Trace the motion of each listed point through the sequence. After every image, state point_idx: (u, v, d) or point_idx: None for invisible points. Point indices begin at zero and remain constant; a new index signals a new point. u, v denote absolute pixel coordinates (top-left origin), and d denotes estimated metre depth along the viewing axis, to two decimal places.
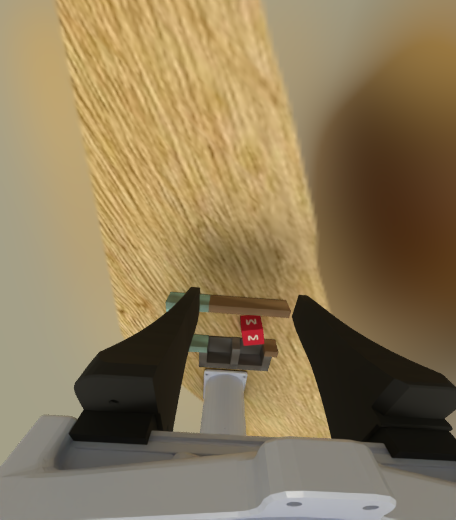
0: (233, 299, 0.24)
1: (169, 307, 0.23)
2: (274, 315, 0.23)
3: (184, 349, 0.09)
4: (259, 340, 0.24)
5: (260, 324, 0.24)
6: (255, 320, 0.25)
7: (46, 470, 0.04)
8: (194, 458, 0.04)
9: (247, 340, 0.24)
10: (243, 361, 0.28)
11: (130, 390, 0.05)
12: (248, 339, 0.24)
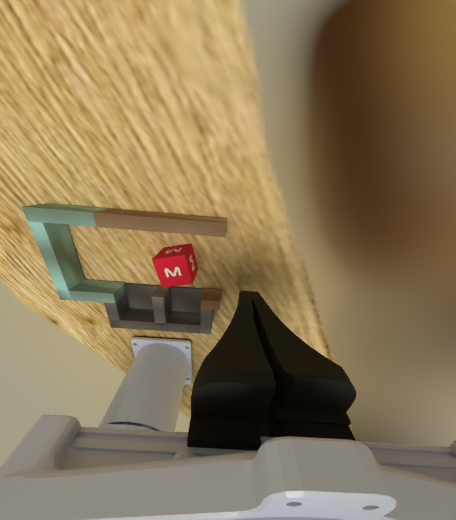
0: (141, 212, 0.16)
1: (31, 217, 0.14)
2: (201, 232, 0.15)
3: None
4: (183, 276, 0.16)
5: (184, 251, 0.16)
6: (180, 249, 0.17)
7: (46, 470, 0.04)
8: (194, 458, 0.04)
9: (165, 277, 0.16)
10: (175, 320, 0.20)
11: (248, 397, 0.05)
12: (166, 275, 0.16)
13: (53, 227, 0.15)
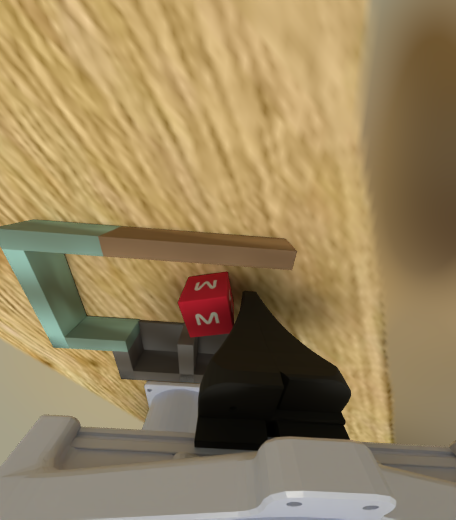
0: (167, 233, 0.11)
1: (6, 243, 0.10)
2: (258, 264, 0.10)
3: None
4: (222, 324, 0.11)
5: (223, 288, 0.11)
6: (215, 282, 0.12)
7: (47, 470, 0.04)
8: (194, 458, 0.04)
9: (195, 325, 0.11)
10: (205, 369, 0.15)
11: (255, 397, 0.05)
12: (198, 323, 0.11)
13: (40, 255, 0.11)
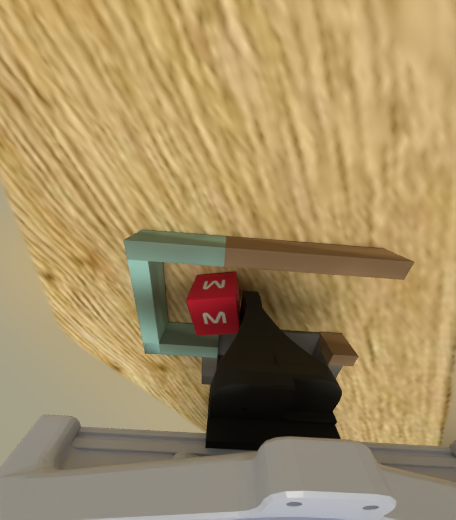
0: (276, 243, 0.11)
1: (134, 254, 0.10)
2: (372, 274, 0.10)
3: None
4: (229, 324, 0.11)
5: (232, 288, 0.11)
6: (223, 282, 0.12)
7: (47, 470, 0.04)
8: (194, 458, 0.04)
9: (202, 323, 0.11)
10: None
11: (267, 398, 0.05)
12: (205, 322, 0.11)
13: (154, 264, 0.11)
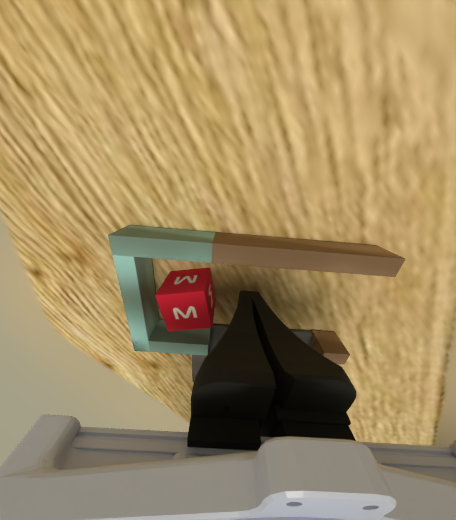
0: (266, 239, 0.11)
1: (119, 250, 0.10)
2: (363, 271, 0.10)
3: None
4: (200, 319, 0.11)
5: (202, 283, 0.11)
6: (195, 277, 0.12)
7: (46, 471, 0.04)
8: (194, 458, 0.04)
9: (173, 318, 0.11)
10: None
11: (248, 397, 0.05)
12: (175, 317, 0.11)
13: (141, 260, 0.11)
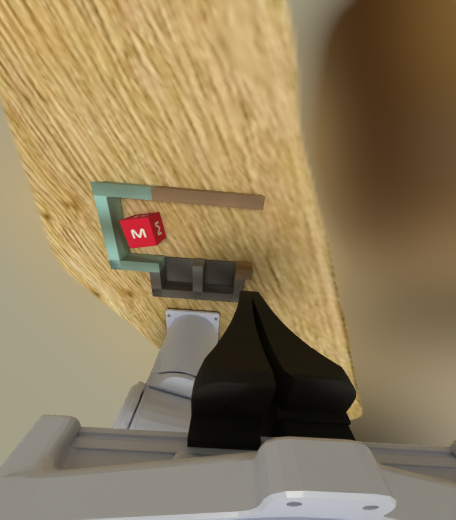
0: (188, 189, 0.18)
1: (97, 191, 0.17)
2: (242, 205, 0.17)
3: None
4: (148, 238, 0.18)
5: (149, 215, 0.18)
6: (147, 215, 0.18)
7: (46, 470, 0.04)
8: (194, 458, 0.04)
9: (132, 238, 0.18)
10: (210, 290, 0.22)
11: (248, 397, 0.05)
12: (133, 237, 0.18)
13: (112, 202, 0.18)
